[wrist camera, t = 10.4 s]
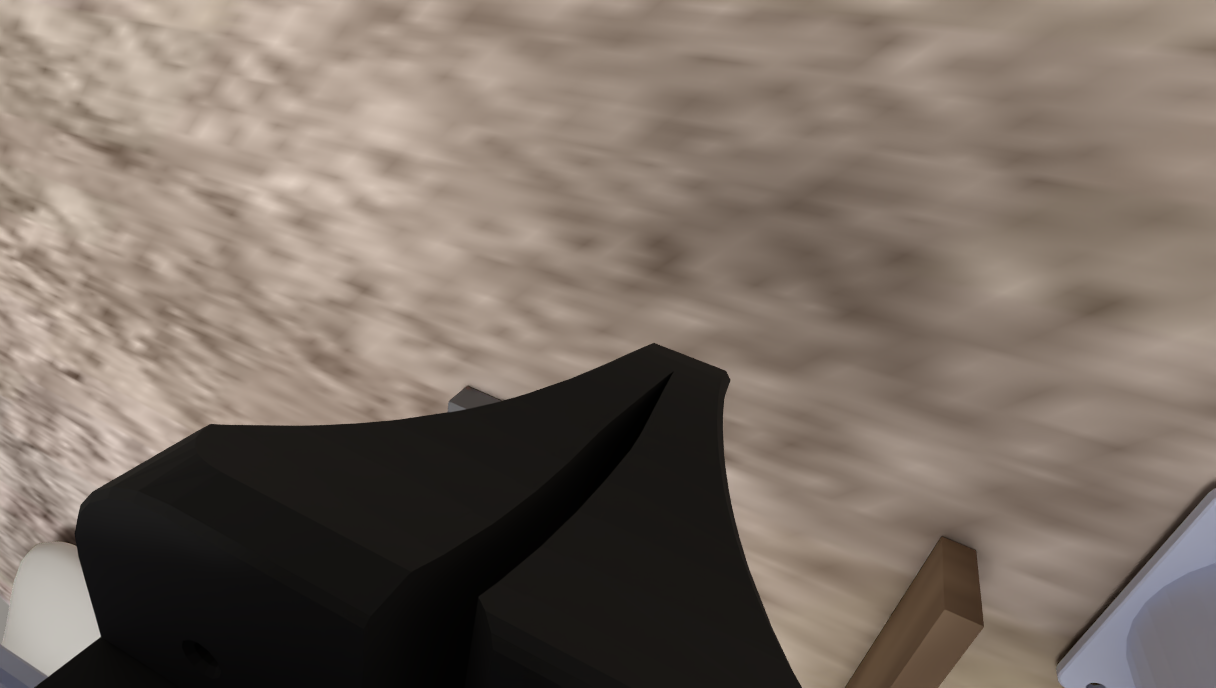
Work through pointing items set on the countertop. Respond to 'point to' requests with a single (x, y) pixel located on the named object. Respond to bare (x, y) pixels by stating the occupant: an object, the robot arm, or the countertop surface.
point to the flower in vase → (50, 608)
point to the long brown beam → (927, 624)
